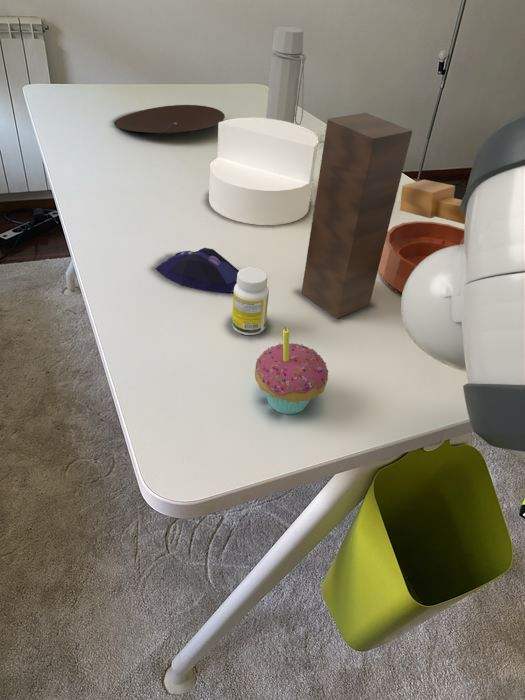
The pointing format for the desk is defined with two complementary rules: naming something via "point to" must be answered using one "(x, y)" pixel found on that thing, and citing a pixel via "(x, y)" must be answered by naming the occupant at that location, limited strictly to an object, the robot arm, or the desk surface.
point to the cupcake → (290, 375)
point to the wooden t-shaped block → (431, 200)
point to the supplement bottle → (250, 301)
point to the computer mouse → (200, 270)
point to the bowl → (414, 248)
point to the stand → (353, 210)
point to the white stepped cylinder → (262, 171)
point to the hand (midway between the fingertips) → (484, 201)
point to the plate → (171, 119)
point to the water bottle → (285, 74)
